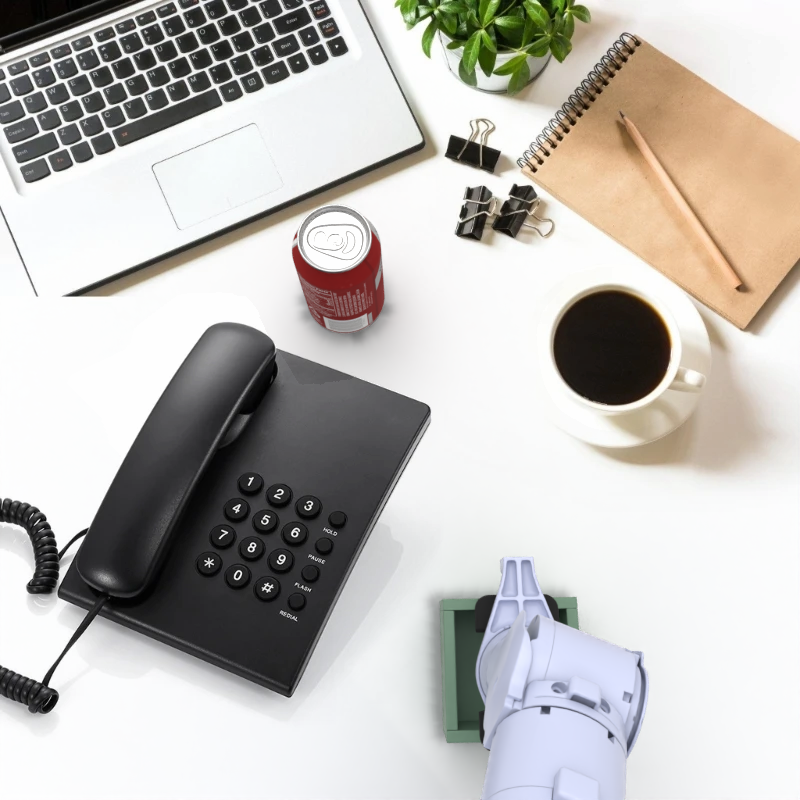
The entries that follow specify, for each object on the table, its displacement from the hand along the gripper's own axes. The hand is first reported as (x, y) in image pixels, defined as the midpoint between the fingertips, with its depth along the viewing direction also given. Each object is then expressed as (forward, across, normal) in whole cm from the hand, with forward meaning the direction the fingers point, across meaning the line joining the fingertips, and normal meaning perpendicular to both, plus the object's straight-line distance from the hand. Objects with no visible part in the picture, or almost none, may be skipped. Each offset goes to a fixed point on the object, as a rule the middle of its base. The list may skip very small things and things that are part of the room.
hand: (507, 665), depth 60 cm
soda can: (+3, +30, +12) cm, 33 cm away
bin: (+3, 0, 0) cm, 3 cm away
